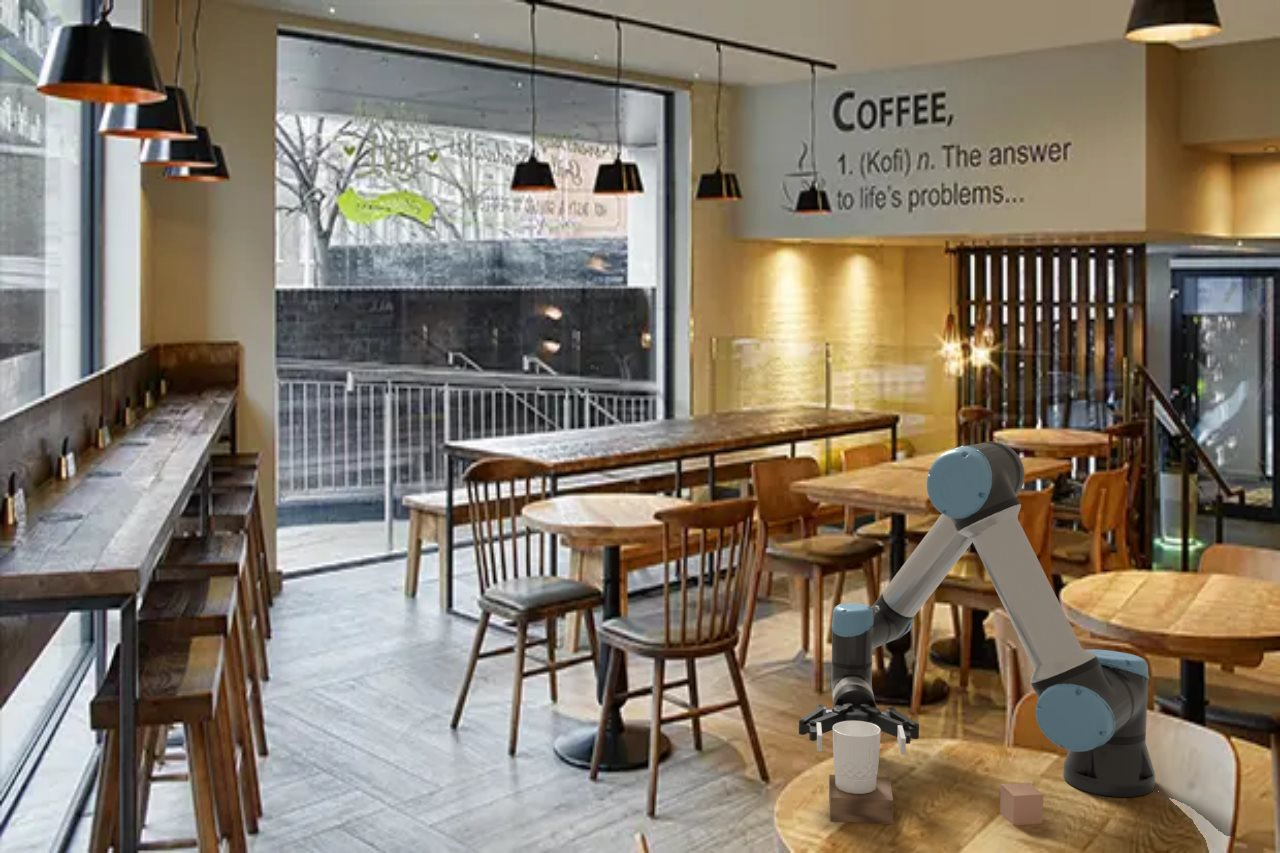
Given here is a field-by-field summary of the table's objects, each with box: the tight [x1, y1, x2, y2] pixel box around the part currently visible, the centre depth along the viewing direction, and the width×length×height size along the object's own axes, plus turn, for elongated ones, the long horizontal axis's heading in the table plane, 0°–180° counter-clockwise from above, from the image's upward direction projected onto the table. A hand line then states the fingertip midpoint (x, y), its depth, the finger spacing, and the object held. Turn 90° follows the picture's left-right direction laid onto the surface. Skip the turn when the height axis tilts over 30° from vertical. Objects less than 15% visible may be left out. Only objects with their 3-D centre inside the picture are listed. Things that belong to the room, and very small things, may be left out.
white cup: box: [832, 721, 882, 794], centre depth 211 cm, size 8×8×10 cm
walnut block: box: [828, 774, 894, 825], centre depth 212 cm, size 10×10×4 cm
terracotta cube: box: [999, 782, 1044, 826], centre depth 208 cm, size 5×5×5 cm
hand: (861, 745), depth 210 cm, fingers open, 13 cm apart
